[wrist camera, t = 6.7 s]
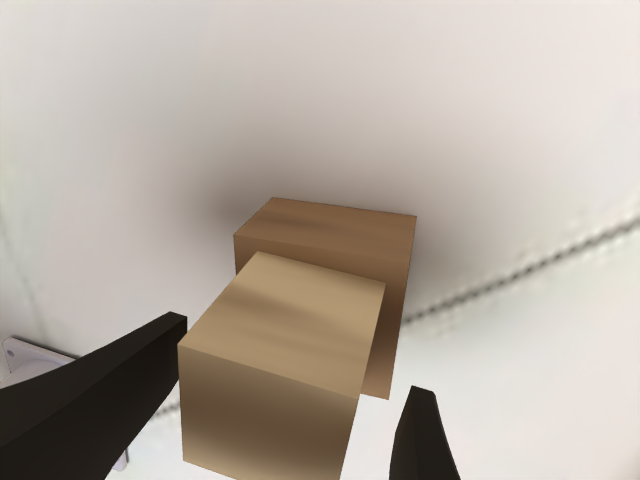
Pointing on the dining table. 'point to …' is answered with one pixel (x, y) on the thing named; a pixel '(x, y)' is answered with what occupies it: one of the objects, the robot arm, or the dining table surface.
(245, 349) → the beech cube
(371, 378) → the walnut plinth
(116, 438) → the robot arm
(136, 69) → the dining table surface
